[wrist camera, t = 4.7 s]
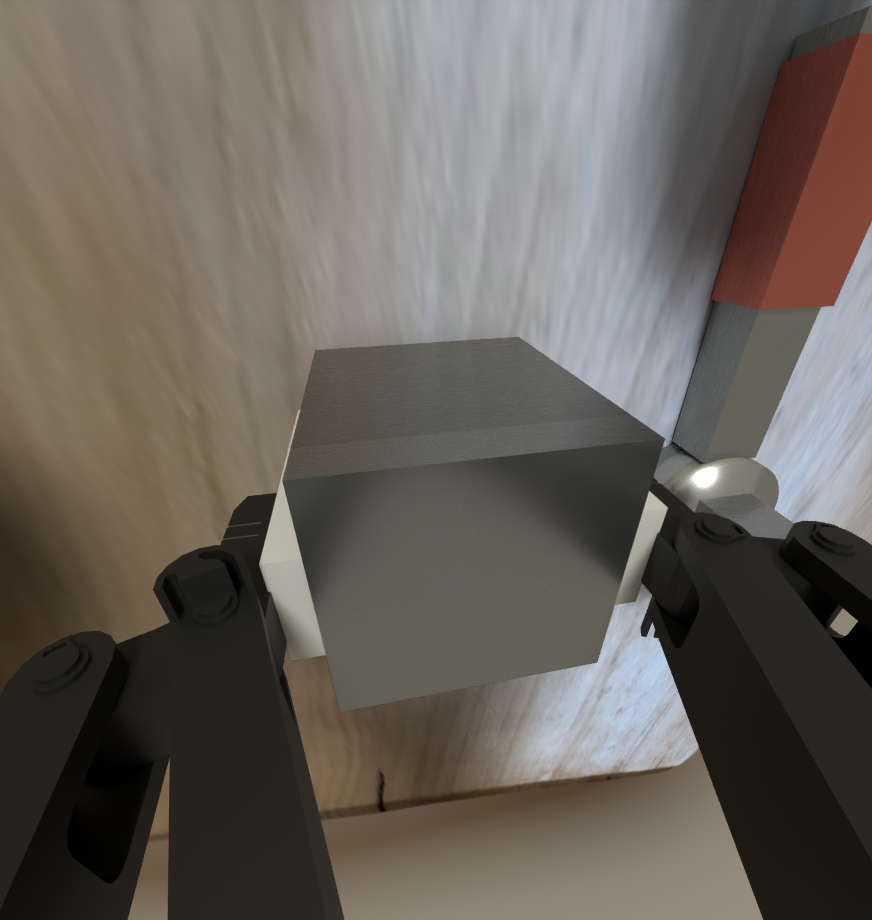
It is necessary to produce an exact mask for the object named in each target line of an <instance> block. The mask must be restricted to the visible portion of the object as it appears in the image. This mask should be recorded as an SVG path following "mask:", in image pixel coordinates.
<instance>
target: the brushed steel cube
mask: <svg viewBox="0 0 872 920" xmlns="http://www.w3.org/2000/svg"><path fill="white" fill-rule="evenodd" d="M664 441H665V438H663V437H662V436H660V435H659V434H657V433H656V432H655V431H653V430H652V429H650V428H649V427H647V426H646V425H645V424H643V423H642V422H640V421H639V420H637V419H636V418H634V417H633V416H632V415H630V414H629V413H627V412H626V411H624V410H623V409H622V408H620V407H619V406H617V405H616V404H614V403H613V402H611V401H610V400H609V399H607V398H606V397H604V396H603V395H601V394H600V393H598V392H597V391H596V390H594V389H593V388H591V387H590V386H588V385H587V384H586V383H584V382H583V381H581V380H580V379H578V378H577V377H575V376H574V375H573V374H571V373H570V372H568V371H567V370H565V369H564V368H563V367H561V366H560V365H558V364H557V363H555V362H554V361H552V360H551V359H550V358H548V357H547V356H545V355H544V354H542V353H541V352H539V351H538V350H537V349H535V348H534V347H532V346H531V345H529V344H528V343H527V342H525V341H524V340H522V339H521V338H519V337H511V338H496V339H480V340H465V341H450V342H434V343H419V344H404V345H388V346H373V347H358V348H342V349H327V350H315V354H314V358H313V362H312V366H311V370H310V374H309V378H308V381H307V385H306V389H305V393H304V397H303V401H302V405H301V409H300V413H299V417H298V421H297V425H296V428H295V432H294V436H293V440H292V444H291V448H290V452H289V456H288V460H287V464H286V468H285V472H284V476H283V479H282V482H283V486H284V490H285V494H286V498H287V502H288V506H289V510H290V514H291V518H292V522H293V526H294V530H295V534H296V538H297V542H298V546H299V550H300V554H301V558H302V562H303V566H304V570H305V574H306V578H307V582H308V586H309V590H310V594H311V598H312V602H313V606H314V610H315V614H316V618H317V622H318V626H319V630H320V634H321V638H322V642H323V646H324V650H325V654H326V658H327V662H328V666H329V670H330V674H331V678H332V682H333V686H334V690H335V694H336V698H337V702H338V706H339V710H340V712H344V711H349V710H354V709H360V708H365V707H370V706H375V705H380V704H385V703H391V702H396V701H401V700H406V699H411V698H416V697H422V696H427V695H432V694H437V693H442V692H447V691H453V690H458V689H463V688H468V687H473V686H478V685H484V684H489V683H494V682H499V681H504V680H509V679H515V678H520V677H525V676H530V675H535V674H540V673H546V672H551V671H556V670H561V669H566V668H571V667H577V666H582V665H587V664H592V663H597V661H598V658H599V655H600V651H601V648H602V645H603V641H604V638H605V635H606V632H607V628H608V625H609V622H610V618H611V615H612V612H613V609H614V605H615V602H616V599H617V595H618V592H619V589H620V586H621V582H622V579H623V576H624V572H625V569H626V566H627V562H628V559H629V556H630V553H631V549H632V546H633V543H634V539H635V536H636V533H637V530H638V526H639V523H640V520H641V516H642V513H643V510H644V506H645V503H646V500H647V497H648V493H649V490H650V487H651V483H652V480H653V477H654V474H655V470H656V467H657V464H658V460H659V457H660V454H661V451H662V447H663V444H664Z"/></svg>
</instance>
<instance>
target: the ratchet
mask: <svg viewBox="0 0 872 920" xmlns="http://www.w3.org/2000/svg"><path fill="white" fill-rule="evenodd" d="M871 222H872V6H869V7H867V8H864V9H862V10H860V11H857V12H855V13H852V14H850V15H848V16H845V17H843V18H841V19H838V20H836V21H834V22H831V23H829V24H826V25H824V26H822V27H819V28H817V29H815V30H812V31H810V32H808V33H805V34H803V35H800V36H798V37H797V38H796V41H795V45H794V48H793V51H792V54H791V58H790V60H788V61H785V62H782V65H781V69H780V72H779V75H778V79H777V82H776V85H775V89H774V92H773V95H772V98H771V102H770V105H769V108H768V112H767V115H766V118H765V122H764V125H763V128H762V131H761V135H760V138H759V141H758V145H757V148H756V151H755V155H754V158H753V161H752V164H751V168H750V171H749V174H748V178H747V181H746V184H745V188H744V191H743V194H742V197H741V201H740V204H739V207H738V211H737V214H736V217H735V221H734V224H733V227H732V230H731V234H730V237H729V240H728V244H727V247H726V250H725V254H724V257H723V260H722V263H721V267H720V270H719V273H718V277H717V280H716V283H715V287H714V290H713V293H712V296H711V300H715V303H714V307H713V310H712V313H711V316H710V320H709V323H708V326H707V329H706V333H705V336H704V339H703V342H702V346H701V349H700V352H699V355H698V359H697V362H696V365H695V368H694V371H693V375H692V378H691V381H690V384H689V388H688V391H687V394H686V397H685V401H684V404H683V407H682V410H681V414H680V417H679V420H678V423H677V426H676V430H675V433H674V436H673V439H672V441H673V442H674V443H672V444H670V445H668V446H666V447H665V448H663V449H662V451H661V454H660V457H659V460H658V464H657V467H656V470H655V474H654V478H655V479H656V480H657V481H658V483H661V484H662V485H663V486H664V487H665V488H667V489H668V490H669V491H670V492H671V493H673V494H674V495H675V496H676V497H677V498H678V499H680V500H681V501H682V502H683V503H684V504H685V505H687V506H688V507H689V508H690V509H691V510H692V511H694V512H695V513H699V512H704V513H710V514H716V515H719V516H722V517H724V518H727V519H730V520H732V521H733V522H735V523H737V524H739V525H740V526H742V527H743V528H744V529H746V530H747V531H748V532H749V533H750V534H751V535H752V536H756V537H767V538H778V539H785V538H786V536H787V535H788V533H789V531H790V529H791V528H792V526H793V525H794V523H792V522H791V521H790V520H788V519H787V518H785V517H784V516H782V515H781V514H779V513H778V512H777V511H775V510H774V508H775V506H776V503H777V500H778V494H779V486H778V482H777V479H776V477H775V475H774V474H773V473H772V472H771V471H770V470H769V469H768V468H766V467H764V466H763V465H761V464H759V463H758V462H756V461H754V460H753V459H751V458H754V457H756V455H757V453H758V451H759V448H760V446H761V444H762V441H763V439H764V437H765V434H766V432H767V430H768V428H769V425H770V423H771V421H772V418H773V416H774V414H775V411H776V409H777V407H778V405H779V402H780V400H781V398H782V395H783V393H784V391H785V389H786V386H787V384H788V382H789V379H790V377H791V375H792V372H793V370H794V368H795V366H796V363H797V361H798V359H799V356H800V354H801V352H802V349H803V347H804V345H805V343H806V340H807V338H808V336H809V333H810V331H811V329H812V326H813V324H814V322H815V320H816V317H817V315H818V313H819V310H820V308H821V307H824V306H834V304H835V302H836V300H837V297H838V295H839V293H840V291H841V288H842V286H843V284H844V282H845V279H846V277H847V275H848V273H849V271H850V268H851V266H852V264H853V262H854V259H855V257H856V255H857V253H858V251H859V248H860V246H861V244H862V242H863V239H864V237H865V235H866V233H867V231H868V228H869V226H870V224H871Z"/></svg>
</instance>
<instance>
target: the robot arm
mask: <svg viewBox="0 0 872 920" xmlns="http://www.w3.org/2000/svg"><path fill="white" fill-rule="evenodd" d="M299 413H300V410H298V414H297V418H296V422H295V426H294V430H293V434H292V437H291V441H290V445H289V449H288V453H287V457H286V461H285V465H284V469H283V473H282V477H281V481H280V485H279V488H278V492H277V493H272V494H263V495H255V496H248V497H247V498H246V499H245V500H244V501H243V502H242V503H241V504H240V505H239V506H238V507H237V508H236V509H235V510H234V511H233V514H232V517H231V519H230V522H229V524H228V528H227V529H226V532H225V535H224V537H223V538H224V541H222V542H221V545H214V546H209V547H204V548H199V549H197V550H194V551H192V552H190V553H187V554H185V555H182V556H181V557H180V558H178V559H177V560H175V561H174V562H172V563H171V564H169V565H168V566H167V567H166V568H165V569H164V570H163V572H162V573H161V574H160V575H159V576H158V577H157V580H156V582H155V585H154V588H153V591H154V593H155V595H156V596H157V598H158V600H159V602H160V604H161V606H162V608H163V609H164V611H165V613H166V615H167V617H168V619H169V621H170V622H169V623H168V624H165V625H163V626H161V627H159V628H157V629H155V630H152V631H150V632H147V633H144V634H142V635H139V636H137V637H134V638H132V639H129V640H126V641H124V642H121V643H119V644H116V643H115V641H114V640H113V639H112V637H111V636H110V635H108V634H106V633H103V632H100V631H90V632H81V633H78V634H75V635H71V636H68V637H65V638H62V639H61V640H59V641H57V642H55V643H53V644H51V645H50V646H48V647H46V648H44V649H42V650H41V651H40V652H38V653H37V654H36V655H34V656H33V657H32V658H31V659H29V660H28V661H27V662H26V663H24V664H23V665H22V666H21V668H20V669H19V670H18V671H17V672H16V673H15V675H14V676H13V677H12V678H11V679H10V680H9V682H8V683H7V685H6V686H5V688H4V690H3V691H2V693H1V694H0V920H127V919H128V916H129V912H130V908H131V904H132V900H133V897H134V893H135V889H136V885H137V881H138V877H139V873H140V870H141V866H142V862H143V858H144V854H145V850H146V846H147V842H148V839H149V835H150V831H151V827H152V823H153V819H154V815H155V812H156V808H157V804H158V800H159V796H160V792H161V788H162V785H163V781H164V777H165V773H166V769H167V765H168V761H169V758H170V786H169V862H168V863H169V864H168V867H169V869H168V920H344V916H343V912H342V907H341V903H340V899H339V895H338V891H337V887H336V882H335V878H334V874H333V870H332V866H331V861H330V857H329V853H328V849H327V845H326V841H325V836H324V832H323V828H322V824H321V820H320V815H319V811H318V807H317V803H316V799H315V795H314V790H313V786H312V782H311V778H310V774H309V769H308V765H307V761H306V757H305V753H304V749H303V744H302V740H301V736H300V732H299V728H298V723H297V719H296V715H295V711H294V707H293V703H292V698H291V694H290V690H289V686H288V682H287V678H286V675H285V673H284V670H283V664H284V657H285V650H286V648H287V651H288V654H289V657H290V660H291V661H295V660H300V659H306V658H312V657H318V656H323V655H326V654H325V650H324V646H323V642H322V638H321V634H320V630H319V626H318V622H317V618H316V614H315V610H314V606H313V602H312V598H311V594H310V590H309V586H308V582H307V578H306V574H305V570H304V566H303V562H302V558H301V554H300V550H299V546H298V542H297V538H296V534H295V530H294V526H293V522H292V518H291V514H290V510H289V506H288V502H287V498H286V494H285V490H284V486H283V482H282V479H283V476H284V472H285V468H286V464H287V460H288V456H289V452H290V448H291V444H292V440H293V436H294V432H295V428H296V425H297V421H298V417H299ZM642 583H643V584H644V586H645V587H646V588H647V589H648V591H649V592H650V593H651V594H652V598H651V601H650V604H649V606H648V609H647V612H646V614H645V617H644V620H643V622H642V625H641V636H644V637H647V634H648V631H649V629H650V626H651V624H652V622H653V625H654V627H655V632H654V638H659V641H660V644H661V646H662V649H663V652H664V654H665V657H666V660H667V662H668V665H669V668H670V670H671V673H672V676H673V678H674V681H675V684H676V686H677V689H678V692H679V695H680V697H681V700H682V703H683V705H684V708H685V711H686V713H687V716H688V719H689V721H690V724H691V727H692V729H693V732H694V735H695V737H696V740H697V743H698V746H699V748H700V751H701V753H702V756H703V759H704V762H705V764H706V767H707V770H708V772H709V775H710V778H711V780H712V783H713V786H714V788H715V791H716V794H717V796H718V799H719V802H720V805H721V807H722V810H723V813H724V815H725V818H726V821H727V823H728V826H729V829H730V831H731V834H732V837H733V839H734V842H735V845H736V848H737V850H738V853H739V856H740V858H741V861H742V864H743V866H744V869H745V872H746V874H747V877H748V879H749V882H750V885H751V888H752V891H753V893H754V896H755V898H756V901H757V904H758V907H759V909H760V912H761V915H762V917H763V920H872V545H871V544H869V543H868V542H866V541H865V540H863V539H862V538H860V537H858V536H856V535H855V534H853V533H851V532H849V531H847V530H844V529H842V528H839V527H838V526H835V525H832V524H828V523H827V524H826V523H823V522H817V521H801V522H797V523H794V525H793V526H792V528H791V529H790V531H789V533H788V535H787V536H786V538H785V539H778V538H767V537H756V536H752V535H751V534H750V533H749V532H748V531H747V530H746V529H744V528H743V527H742V526H740V525H739V524H737V523H735V522H733V521H732V520H730V519H727V518H724V517H722V516H719V515H716V514H710V513H704V512H699V513H695V512H694V511H692V510H691V509H690V508H689V507H688V506H687V505H685V504H684V503H683V502H682V501H681V500H680V499H678V498H677V497H676V496H675V495H674V494H673V493H671V492H670V491H669V490H668V489H667V488H665V487H664V486H663V485H662V484H661V483H658V481H657V480H656V479H655V478H654V477H653V480H652V483H651V487H650V490H649V493H648V497H647V500H646V503H645V506H644V510H643V513H642V516H641V520H640V523H639V526H638V530H637V533H636V536H635V539H634V543H633V546H632V549H631V553H630V556H629V559H628V562H627V566H626V569H625V572H624V576H623V579H622V582H621V586H620V589H619V592H618V595H617V599H616V602H615V605H617V604H623V603H629V602H635V601H636V599H637V596H638V593H639V590H640V587H641V584H642ZM843 608H844V609H845V610H846V611H847V612H848V613H849V614H851V615H852V616H853V617H854V618H855V619H857V620H858V622H857V623H856V625H855V626H854V627H853V628H852V630H851V631H850V632H849V634H848V635H846V636H843V635H840V634H838V633H837V632H836V631H834V630H833V629H832V628H831V627H830V625H831V624H832V622H833V621H834V620H835V618H836V617H837V616H838V614H839V613H840V611H841V610H842V609H843Z"/></svg>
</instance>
